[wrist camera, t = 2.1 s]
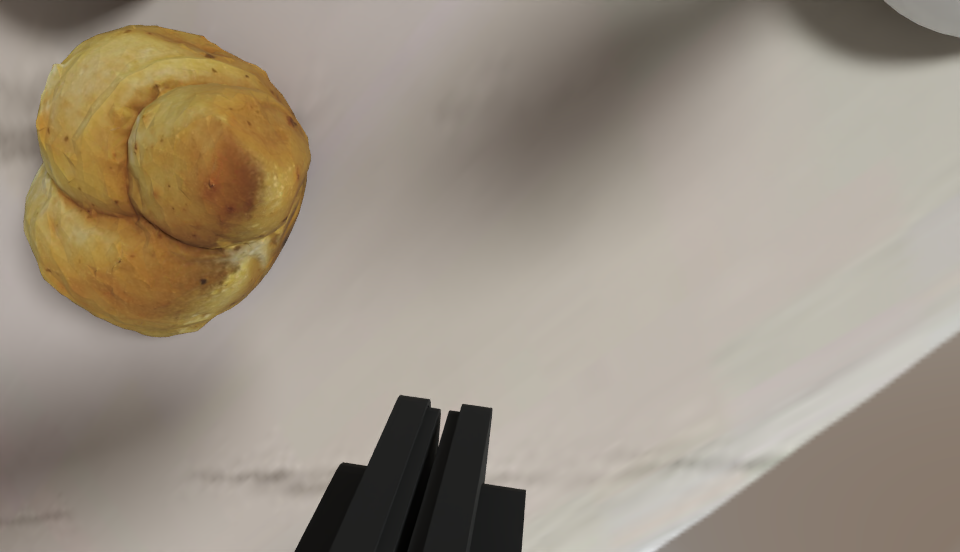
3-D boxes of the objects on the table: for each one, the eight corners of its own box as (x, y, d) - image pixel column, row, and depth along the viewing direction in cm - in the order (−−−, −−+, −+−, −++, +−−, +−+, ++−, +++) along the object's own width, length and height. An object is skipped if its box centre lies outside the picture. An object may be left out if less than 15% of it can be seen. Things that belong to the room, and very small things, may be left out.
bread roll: (237, 347, 30) (132, 454, 23) (52, 229, 29) (-123, 302, 21) (375, 123, 25) (299, 165, 18) (160, -30, 24) (-16, -52, 17)
